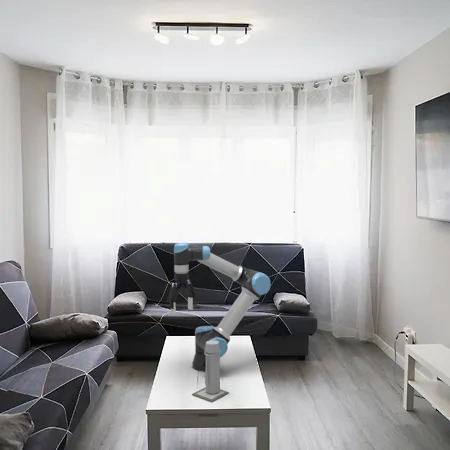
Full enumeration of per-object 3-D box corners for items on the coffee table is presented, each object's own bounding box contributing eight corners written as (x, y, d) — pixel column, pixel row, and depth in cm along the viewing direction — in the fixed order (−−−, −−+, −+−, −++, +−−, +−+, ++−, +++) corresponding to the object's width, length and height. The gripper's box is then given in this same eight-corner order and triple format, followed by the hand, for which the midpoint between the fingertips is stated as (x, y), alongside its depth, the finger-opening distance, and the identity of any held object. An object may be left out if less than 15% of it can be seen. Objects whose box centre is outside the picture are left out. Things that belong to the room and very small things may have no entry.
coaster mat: (209, 386, 233) (209, 385, 233) (228, 393, 225) (228, 392, 225) (191, 395, 223) (191, 393, 223) (212, 402, 214) (212, 401, 214)
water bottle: (211, 387, 230) (211, 339, 229) (223, 391, 225) (223, 342, 224) (199, 393, 223) (199, 343, 222) (211, 397, 218) (211, 346, 217)
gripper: (191, 268, 252) (191, 306, 253) (159, 275, 232) (160, 315, 233) (201, 270, 247) (202, 308, 248) (170, 276, 227) (170, 318, 228)
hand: (182, 312), depth 241 cm, fingers open, 13 cm apart
